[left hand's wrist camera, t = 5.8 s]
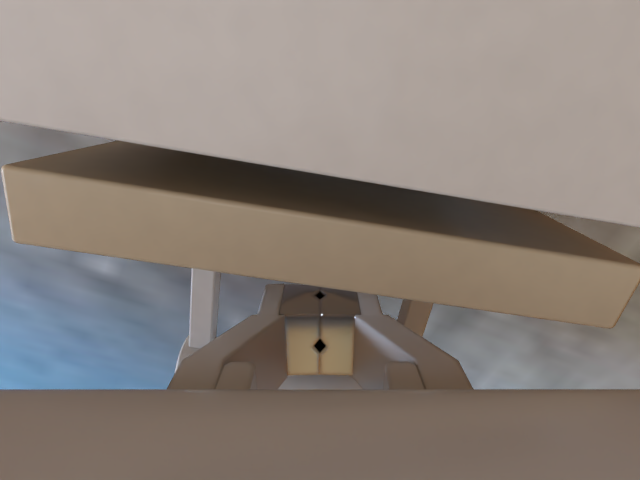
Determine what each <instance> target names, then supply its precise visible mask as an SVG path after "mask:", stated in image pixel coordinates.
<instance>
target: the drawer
mask: <svg viewBox="0 0 640 480" xmlns="http://www.w3.org/2000/svg"><path fill="white" fill-rule="evenodd" d="M1 174H2V180H3V186H4V192H5V198H6V204H7V210H8V216H9V222H10V228H11V234H12V239H13V241H14V242H16V243H20V244H27V245H34V246H41V247H48V248H55V249H62V250H69V251H75V252H82V253H89V254H96V255H103V256H110V257H117V258H124V259H131V260H138V261H145V262H152V263H159V264H166V265H173V266H179V267H186V268H192V275H191V301H190V327H189V336H188V337H187V338H186V340H185V341H184V343H183V345H182V348H181V350H180V353H179V356H178V360H177V364H176V369H175V373H176V371H177V369H178V367H179V365H180V363H181V361H182V360H183V359H185V358H186V357H188V356H189V355H191V354H192V353H194V352H196V351H197V350H199V349H200V348H202V347H203V346H205V345H206V344H208V343H209V342H211V341H213V340H214V339H216V338H217V337H216V332H217V318H218V304H219V290H220V276H221V273H228V274H235V275H242V276H249V277H256V278H263V279H270V280H276V281H283V282H290V283H297V284H304V285H311V286H318V287H325V288H332V289H339V290H346V291H353V292H360V293H367V294H374V295H380V296H387V297H394V298H401V299H403V302H402V306H401V309H400V312H399V316H398V319H397V321H398V322H400V323H401V324H403V325H404V326H406V327H407V328H409V329H410V330H412V331H413V332H415V333H417V334H418V335H420V336H421V337H422V336H423V333H424V330H425V327H426V324H427V321H428V318H429V315H430V312H431V309H432V306H433V303H436V304H443V305H450V306H457V307H464V308H471V309H478V310H484V311H491V312H498V313H505V314H512V315H519V316H526V317H533V318H540V319H547V320H554V321H561V322H568V323H575V324H581V325H588V326H595V327H602V328H609V329H610V328H613V327H614V326H615V324H616V323H617V321H618V319H619V317H620V316H621V314H622V312H623V310H624V309H625V307H626V305H627V303H628V302H629V300H630V298H631V296H632V295H633V293H634V291H635V289H636V288H637V286H638V284H639V282H640V264H639V263H637V262H635V261H633V260H631V259H629V258H627V257H625V256H623V255H621V254H620V253H618V252H616V251H614V250H612V249H610V248H608V247H606V246H604V245H602V244H600V243H598V242H596V241H594V240H592V239H590V238H588V237H586V236H584V235H582V234H581V233H579V232H577V231H575V230H573V229H571V228H569V227H567V226H565V225H563V224H561V223H559V222H557V221H555V220H553V219H551V218H549V217H547V216H545V215H543V214H542V213H540V212H538V211H536V210H531V209H525V208H519V207H513V206H507V205H501V204H495V203H489V202H483V201H477V200H471V199H465V198H459V197H453V196H447V195H441V194H435V193H429V192H423V191H417V190H411V189H405V188H399V187H393V186H387V185H381V184H375V183H369V182H363V181H357V180H351V179H345V178H339V177H333V176H327V175H321V174H315V173H309V172H303V171H297V170H291V169H285V168H279V167H273V166H267V165H261V164H255V163H249V162H243V161H237V160H231V159H225V158H219V157H213V156H207V155H201V154H195V153H189V152H183V151H177V150H171V149H165V148H159V147H153V146H147V145H141V144H135V143H129V142H123V141H114V142H109V143H105V144H100V145H95V146H91V147H86V148H81V149H77V150H72V151H67V152H63V153H58V154H53V155H49V156H44V157H39V158H34V159H30V160H25V161H20V162H16V163H11V164H7V165H3V166H2V168H1ZM278 389H362V388H361V387H360V385H359V384H358V383H357V382H356V381H355V379H354V378H353V376H350V375H290V376H287V378H286V380H285V381H284V382H283V383H282V384H281V386H280V387H279V388H278Z"/></svg>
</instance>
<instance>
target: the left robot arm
mask: <svg viewBox="0 0 640 480" xmlns="http://www.w3.org/2000/svg"><path fill="white" fill-rule="evenodd" d="M290 375H350V376H353V378H354V379H355V381H356V382H357V383H358V384H359V385H360V387H361V388H362V389H278V388H279V387H280V386H281V384H282V383H283V382H284V381H285V380H286V378H287V376H290ZM0 480H640V389H473V388H472V386H471V384H470V382H469V380H468V378H467V376H466V374H465V372H464V371H463V369H462V367H461V365H460V363H459V361H458V360H457V359H455V358H453V357H452V356H450V355H449V354H447V353H446V352H444V351H443V350H441V349H440V348H438V347H437V346H435V345H433V344H432V343H430V342H429V341H427V340H426V339H424V338H423V337H421V336H420V335H418V334H417V333H415V332H413V331H412V330H410V329H409V328H407V327H406V326H404V325H403V324H401V323H400V322H398V321H396V320H395V319H393V318H392V317H390V316H389V315H383V314H382V310H381V307H380V304H379V300H378V297H377V295H374V294H367V293H360V292H353V291H346V290H339V289H332V288H325V287H318V286H311V285H302V284H267V285H266V286H265V290H264V293H263V297H262V300H261V304H260V307H259V310H258V314H257V315H251V316H250V317H248V318H247V319H245V320H243V321H242V322H240V323H239V324H237V325H236V326H234V327H233V328H231V329H230V330H228V331H226V332H225V333H223V334H222V335H220V336H219V337H217V338H216V339H214V340H213V341H211V342H209V343H208V344H206V345H205V346H203V347H202V348H200V349H199V350H197V351H196V352H194V353H192V354H191V355H189V356H188V357H186V358H185V359H183V360H182V361H181V363H180V365H179V367H178V369H177V371H176V373H175V375H174V376H173V378H172V380H171V382H170V384H169V386H168V388H167V389H0Z"/></svg>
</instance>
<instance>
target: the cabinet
mask: <svg viewBox="0 0 640 480" xmlns="http://www.w3.org/2000/svg"><path fill="white" fill-rule="evenodd" d="M0 121H3V122H9V123H15V124H21V125H27V126H33V127H39V128H45V129H51V130H57V131H63V132H69V133H75V134H81V135H87V136H93V137H99V138H105V139H111V140H117V141H123V142H129V143H135V144H141V145H147V146H153V147H159V148H165V149H171V150H177V151H183V152H189V153H195V154H201V155H207V156H213V157H219V158H225V159H231V160H237V161H243V162H249V163H255V164H261V165H267V166H273V167H279V168H285V169H291V170H297V171H303V172H309V173H315V174H321V175H327V176H333V177H339V178H345V179H351V180H357V181H363V182H369V183H375V184H381V185H387V186H393V187H399V188H405V189H411V190H417V191H423V192H429V193H435V194H441V195H447V196H453V197H459V198H465V199H471V200H477V201H483V202H489V203H495V204H501V205H507V206H513V207H519V208H525V209H531V210H537V211H543V212H549V213H555V214H561V215H567V216H573V217H579V218H585V219H591V220H597V221H603V222H609V223H615V224H621V225H627V226H633V227H639V228H640V0H0Z"/></svg>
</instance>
